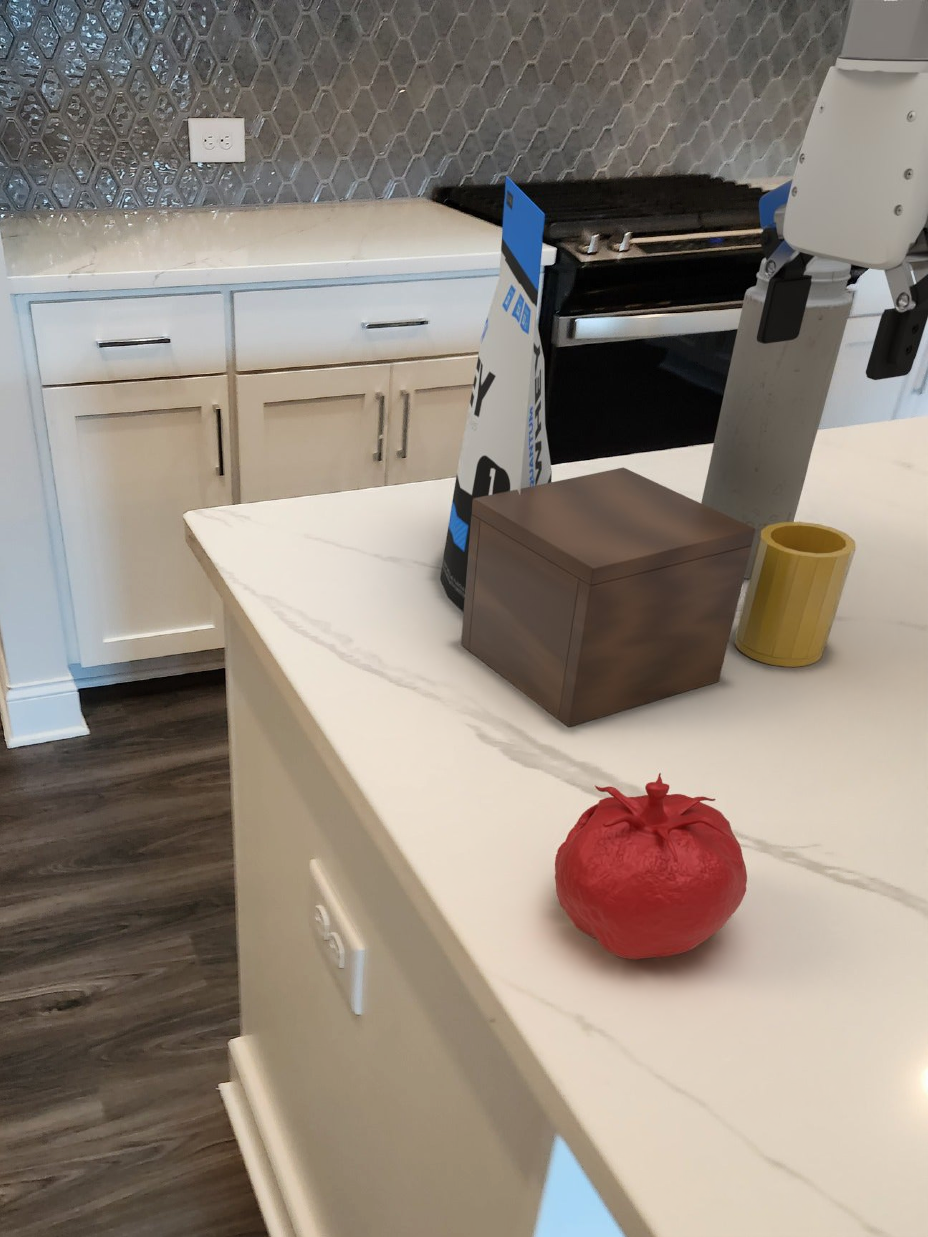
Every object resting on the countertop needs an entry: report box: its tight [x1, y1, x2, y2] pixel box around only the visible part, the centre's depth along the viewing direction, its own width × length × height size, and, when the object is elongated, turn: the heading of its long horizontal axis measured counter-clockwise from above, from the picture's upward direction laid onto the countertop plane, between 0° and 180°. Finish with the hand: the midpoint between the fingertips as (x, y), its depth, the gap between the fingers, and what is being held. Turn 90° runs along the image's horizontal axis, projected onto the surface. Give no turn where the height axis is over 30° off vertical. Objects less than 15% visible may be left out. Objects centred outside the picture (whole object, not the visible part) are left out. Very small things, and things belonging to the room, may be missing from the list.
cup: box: [734, 521, 857, 668], centre depth 84 cm, size 7×7×9 cm
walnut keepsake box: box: [460, 467, 756, 727], centre depth 82 cm, size 14×14×12 cm
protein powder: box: [439, 175, 553, 613], centre depth 89 cm, size 10×24×30 cm, turn 177°
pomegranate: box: [554, 772, 748, 960], centre depth 59 cm, size 10×10×9 cm
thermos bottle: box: [700, 257, 853, 579], centre depth 92 cm, size 8×8×28 cm
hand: (829, 357), depth 72 cm, fingers open, 9 cm apart
